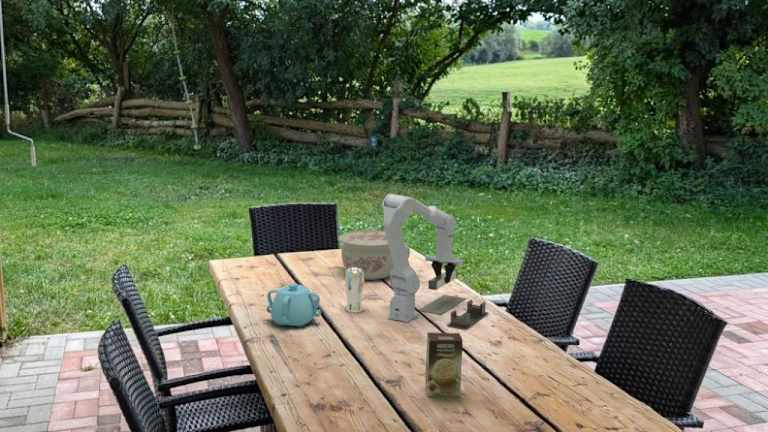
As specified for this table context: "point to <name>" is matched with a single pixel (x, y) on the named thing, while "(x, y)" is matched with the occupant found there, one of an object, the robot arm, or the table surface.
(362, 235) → the chamber pot
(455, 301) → the pad
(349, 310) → the beer glass
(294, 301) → the decorative pot
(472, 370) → the table surface
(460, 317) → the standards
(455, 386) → the coffee box
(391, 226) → the robot arm
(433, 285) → the rail
